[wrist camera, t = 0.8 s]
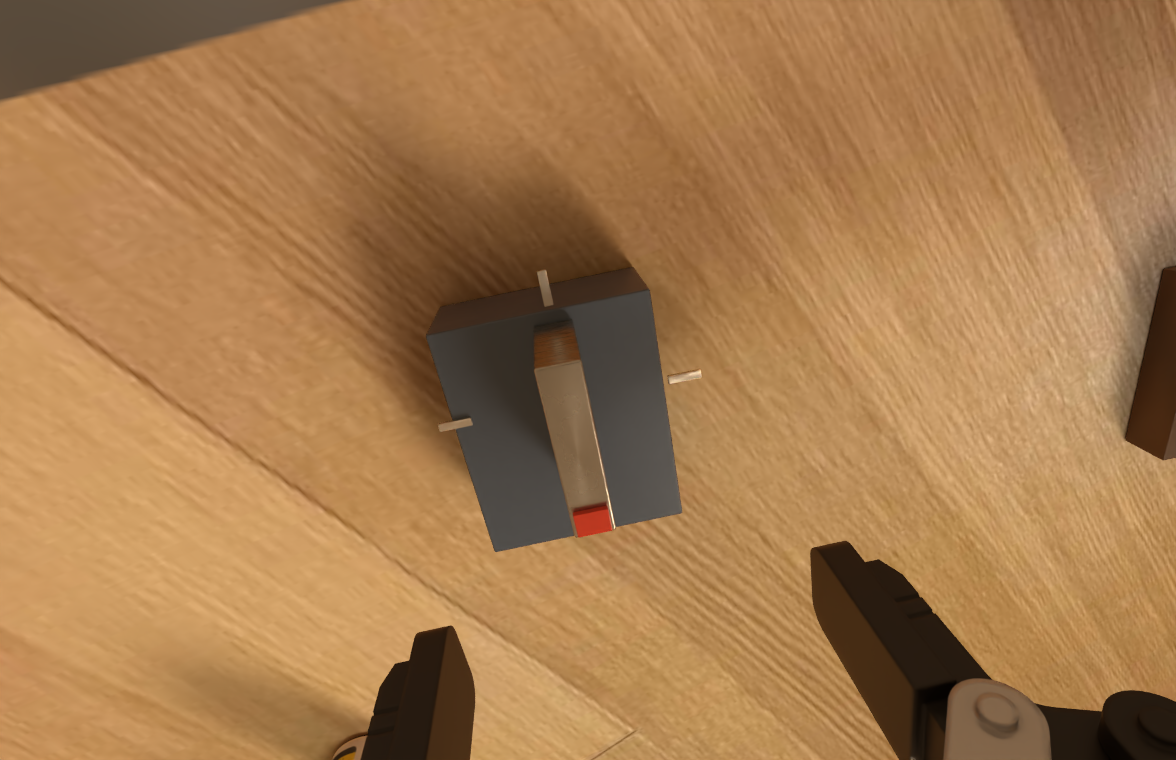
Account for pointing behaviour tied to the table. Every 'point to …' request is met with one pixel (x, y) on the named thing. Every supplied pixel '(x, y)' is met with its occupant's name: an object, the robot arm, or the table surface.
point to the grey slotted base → (515, 413)
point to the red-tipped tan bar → (572, 427)
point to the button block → (1158, 379)
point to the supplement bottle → (351, 749)
